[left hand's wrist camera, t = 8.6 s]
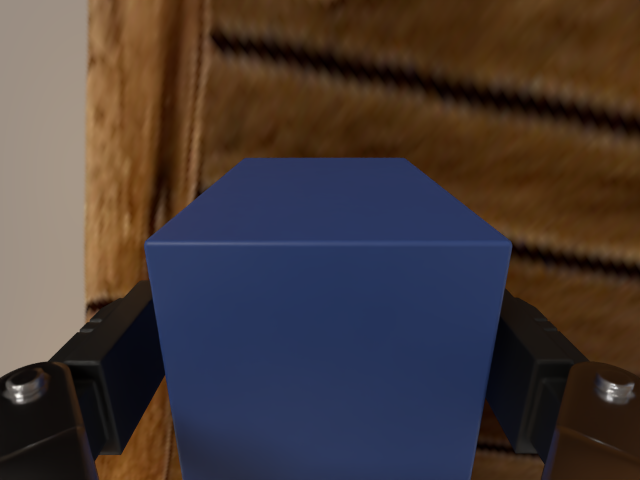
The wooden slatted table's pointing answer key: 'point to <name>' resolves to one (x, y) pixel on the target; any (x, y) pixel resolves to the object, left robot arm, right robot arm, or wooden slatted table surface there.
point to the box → (327, 322)
